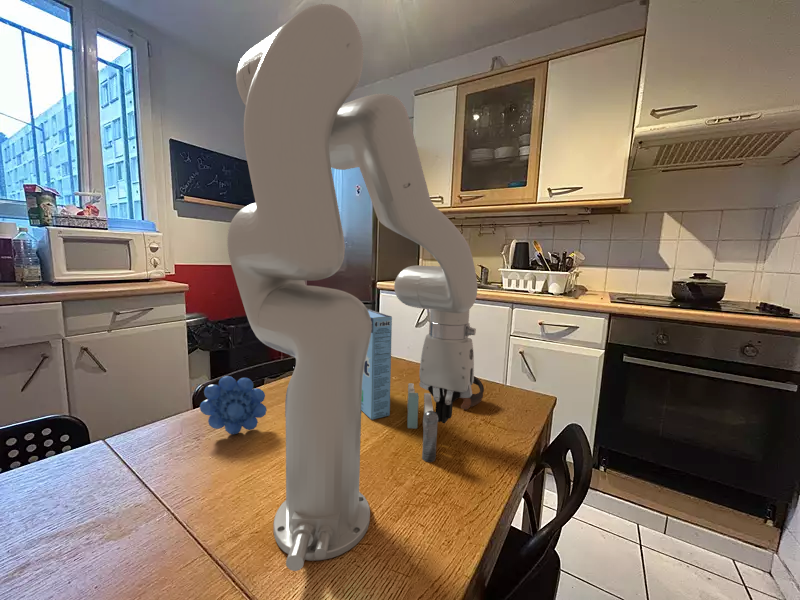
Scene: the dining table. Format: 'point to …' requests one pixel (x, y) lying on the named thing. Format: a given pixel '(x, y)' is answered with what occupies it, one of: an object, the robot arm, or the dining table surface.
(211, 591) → the dining table surface
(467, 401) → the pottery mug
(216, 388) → the blue flower
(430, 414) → the hinge post
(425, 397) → the gate
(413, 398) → the block
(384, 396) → the gum box
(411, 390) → the fence panel
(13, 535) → the dining table surface
